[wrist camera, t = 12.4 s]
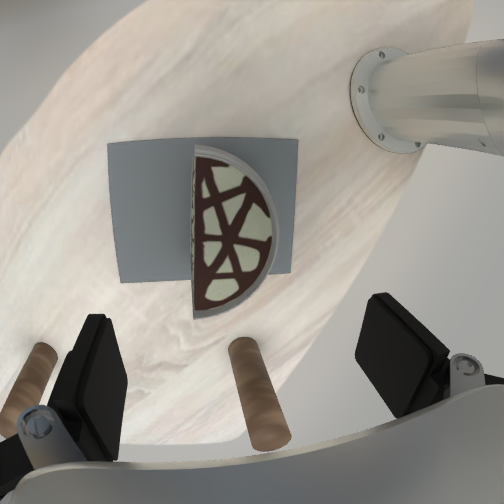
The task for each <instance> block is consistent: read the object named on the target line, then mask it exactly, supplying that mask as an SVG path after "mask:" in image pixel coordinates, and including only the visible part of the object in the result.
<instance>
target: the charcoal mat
mask: <svg viewBox="0 0 504 504" xmlns="http://www.w3.org/2000/svg"><path fill="white" fill-rule="evenodd" d="M195 145H203V146H210V147H214V148H218V149H221V150H224V151H226V152H228V153H230V154H233V155H235V156H237V157H238V158H240V159H241V160H242V161H244V162H245V163H247V164H248V165H249V166H250V167H251V168H252V169H253V170H254V171H255V172H257V173H258V175H259V176H260V177H261V179H262V180H263V181H264V183H265V184H266V186H267V188H268V190H269V192H270V194H271V196H272V198H273V201H274V204H275V208H276V211H277V215H278V222H279V244H278V250H277V254H276V257H275V260H274V263H273V266H272V268H271V270H270V272H269V273H268V275H271V274H285V273H290V271H291V258H292V244H293V229H294V214H295V196H296V177H297V155H298V140H295V139H276V138H242V137H210V138H176V139H158V140H143V141H131V142H120V143H111V144H107V146H108V173H109V189H110V202H111V214H112V223H113V232H114V241H115V248H116V256H117V263H118V269H119V276H120V282H121V283H135V282H156V281H175V280H191V263H190V214H191V176H192V159H193V156H194V154H195Z"/></svg>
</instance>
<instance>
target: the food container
mask: <svg viewBox="0 0 504 504" xmlns="http://www.w3.org/2000/svg"><path fill="white" fill-rule="evenodd" d="M278 244H279V222H278V215H277V211H276V208H275V204H274V201H273V198H272V196H271V194H270V192H269V190H268V188H267V186H266V184H265V183H264V181H263V180H262V179H261V177H260V176H259V175H258V173H257V172H255V171H254V170H253V169H252V168H251V167H250V166H249V165H248V164H247V163H245V162H244V161H242V160H241V159H240V158H238V157H237V156H235V155H233V154H230V153H228V152H226V151H224V150H221V149H218V148H214V147H210V146H203V145H195V154H194V156H193V159H192V176H191V214H190V263H191V285H192V304H193V319H194V320H195V319H205V318H209V317H214V316H218V315H220V314H223V313H225V312H228V311H230V310H232V309H234V308H235V307H237V306H239V305H241V304H242V303H243V302H245V301H246V300H247V299H249V298H250V297H251V296H252V295H253V294H254V293H255V292H256V291H257V290H258V289H259V287H260V286H261V284H262V283H263V282H264V280H265V279H266V277H267V275H268V273H269V272H270V270H271V268H272V266H273V263H274V260H275V257H276V254H277V250H278Z"/></svg>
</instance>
